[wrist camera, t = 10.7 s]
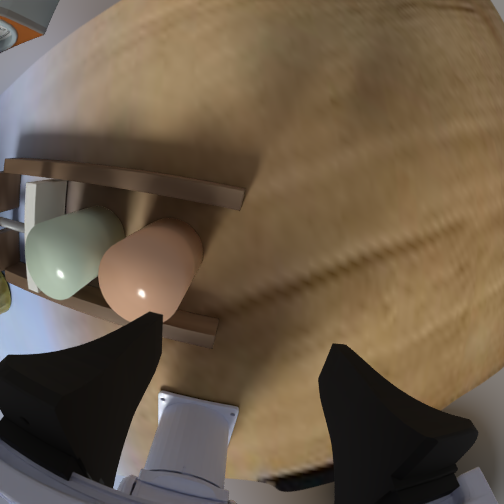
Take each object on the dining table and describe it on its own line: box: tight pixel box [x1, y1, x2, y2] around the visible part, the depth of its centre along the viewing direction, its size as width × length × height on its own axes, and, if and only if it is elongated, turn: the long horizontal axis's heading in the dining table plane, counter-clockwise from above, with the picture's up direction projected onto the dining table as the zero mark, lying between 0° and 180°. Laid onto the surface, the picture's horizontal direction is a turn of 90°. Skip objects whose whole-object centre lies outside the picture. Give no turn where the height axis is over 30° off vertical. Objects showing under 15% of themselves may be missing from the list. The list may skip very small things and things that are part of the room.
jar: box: [98, 218, 203, 322], centre depth 17 cm, size 5×5×6 cm
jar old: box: [25, 206, 125, 300], centre depth 17 cm, size 5×5×6 cm
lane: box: [0, 158, 245, 349], centre depth 18 cm, size 11×22×4 cm, turn 78°
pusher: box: [0, 179, 67, 293], centre depth 17 cm, size 8×14×4 cm, turn 78°
